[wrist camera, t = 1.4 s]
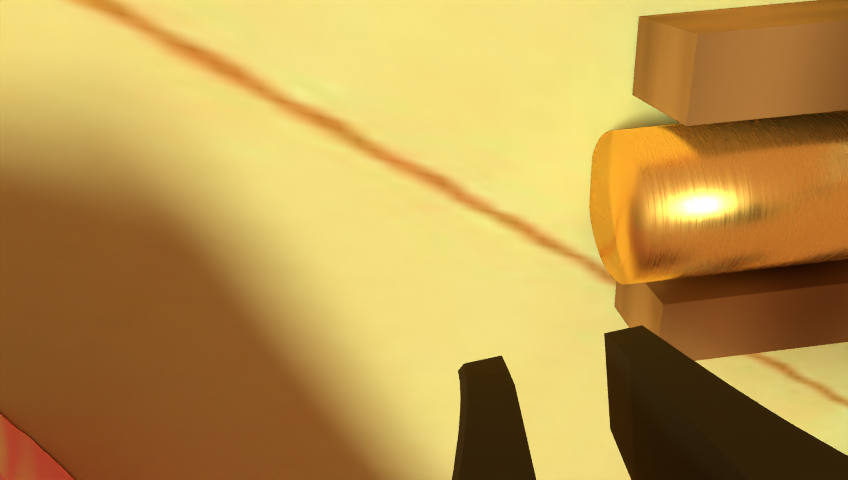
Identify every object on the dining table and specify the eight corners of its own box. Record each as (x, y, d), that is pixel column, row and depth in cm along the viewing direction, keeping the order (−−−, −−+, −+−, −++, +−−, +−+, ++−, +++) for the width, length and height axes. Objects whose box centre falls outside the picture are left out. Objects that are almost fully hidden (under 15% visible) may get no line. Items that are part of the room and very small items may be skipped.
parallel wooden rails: (1007, -17, 16) (1136, -7, 13) (910, 271, 20) (995, 323, 17) (638, 16, 16) (698, 33, 13) (614, 306, 20) (655, 365, 17)
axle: (938, 77, 17) (1087, 118, 14) (896, 205, 19) (1017, 270, 16) (593, 111, 17) (657, 163, 13) (585, 239, 19) (639, 315, 15)
